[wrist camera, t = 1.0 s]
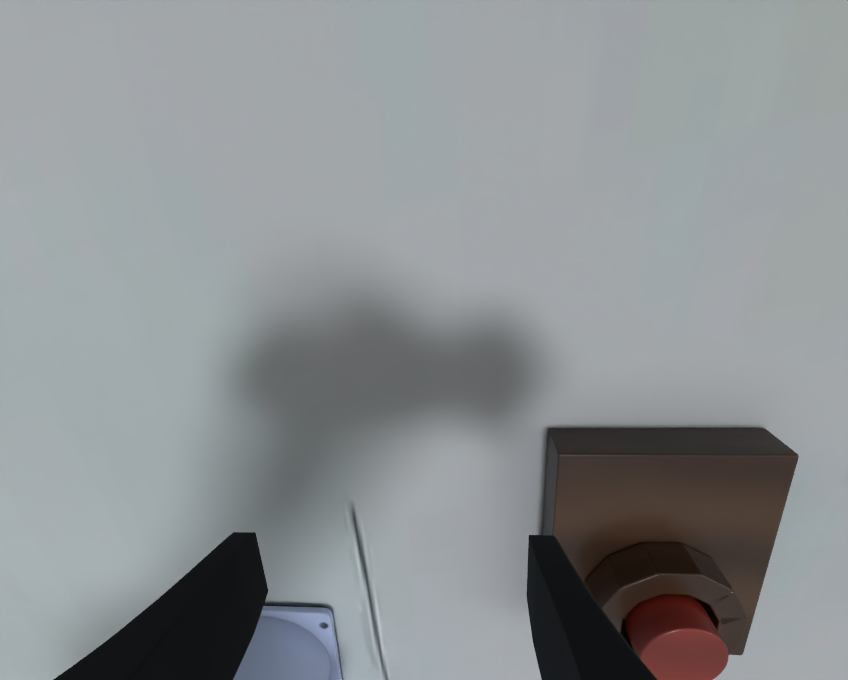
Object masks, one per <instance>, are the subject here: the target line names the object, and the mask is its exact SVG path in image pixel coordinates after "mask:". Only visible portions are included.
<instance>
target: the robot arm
mask: <svg viewBox="0 0 848 680" xmlns="http://www.w3.org/2000/svg"><path fill="white" fill-rule="evenodd" d="M267 593H268V588H267V583H266V579H265V574H264V570H263V565H262V560H261V556H260V551H259V547H258V542H257V538H256V533H239V532H233V533H232V534H231V535H230V536H229V537H228V538H226V539H225V540H224V541H223V542H222V543H221V544H220V545H218V546H217V547H216V548H215V549H214V550H213V551H212V552H211V553H210V554H208V555H207V556H206V557H205V558H204V559H203V560H202V561H201V562H200V563H198V564H197V565H196V566H195V567H194V568H193V569H192V570H191V571H190V572H188V573H187V574H186V575H185V576H184V577H183V578H182V579H180V580H179V581H178V582H177V583H176V584H175V585H174V586H173V587H171V588H170V589H169V590H168V591H167V592H166V593H165V594H163V595H162V596H161V597H160V598H159V599H158V600H156V601H155V602H154V603H153V604H152V605H150V606H149V607H148V608H147V609H145V610H144V611H143V612H142V613H141V614H139V615H138V616H137V617H136V618H135V619H133V620H132V621H131V622H130V623H128V624H127V625H126V626H125V627H124V628H122V629H121V630H120V631H119V632H118V633H116V634H115V635H114V636H112V637H111V638H110V639H109V640H107V641H106V642H105V643H103V644H102V645H101V646H99V647H98V648H97V649H95V650H94V651H93V652H91V653H90V654H89V655H87V656H86V657H84V658H83V659H82V660H80V661H79V662H78V663H76V664H75V665H73V666H72V667H71V668H69V669H68V670H67V671H65V672H64V673H62V674H61V675H59V676H58V677H57V678H55V679H54V680H342V675H341V668H340V661H339V654H338V647H337V641H336V634H335V627H334V620H333V614H332V612H331V611H330V610H329V609H327V608H318V607H286V606H264V603H265V599H266V596H267ZM527 601H528V608H529V616H530V623H531V631H532V638H533V643H534V648H535V652H536V656H537V661H538V665H539V669H540V674H541V678H542V680H658V679H657V678H656V677H655V676H654V675H653V674H652V672H651V671H650V670H649V669H648V668H647V666H646V665H645V664H644V663H643V662H642V660H641V659H640V658H639V657H638V656H637V654H636V653H635V652H634V651H633V649H632V648H631V647H630V645H629V644H628V643H627V642H626V640H625V639H624V638H623V637H622V635H621V634H620V633H619V631H618V630H617V629H616V627H615V626H614V625H613V623H612V622H611V621H610V619H609V618H608V617H607V615H606V614H605V612H604V611H603V610H602V608H601V607H600V605H599V604H598V603H597V601H596V600H595V598H594V597H593V595H592V594H591V593H590V591H589V590H588V588H587V587H586V585H585V584H584V582H583V581H582V579H581V577H580V576H579V574H578V573H577V571H576V570H575V568H574V567H573V565H572V563H571V562H570V560H569V558H568V557H567V555H566V553H565V552H564V550H563V548H562V546H561V545H560V543H559V541H558V539H557V538H556V537H555V536H554V535H529V549H528V578H527Z"/></svg>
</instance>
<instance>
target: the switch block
mask: <svg viewBox="0 0 848 680" xmlns="http://www.w3.org/2000/svg"><path fill="white" fill-rule="evenodd" d="M798 457H799V456H798V454H797V453H795V452H794V451H793V450H792V449H790V448H789V447H788V446H787V445H785V444H784V443H783V442H781V441H780V440H779V439H778V438H776V437H775V436H774V435H773V434H771V433H770V432H769V431H768V430H766V429H549V432H548V448H547V465H546V481H545V497H544V514H543V530H542V535H554V536H555V537H556V538H557V539H558V541H559V543H560V545H561V546H562V548H563V550H564V552H565V553H566V555H567V557H568V558H569V560H570V562H571V563H572V565H573V567H574V568H575V570H576V571H577V573H578V574H579V576H580V577H581V579H582V581H583V582H584V584H585V585H586V587H587V588H588V590H589V591H590V593H591V594H592V595H593V597H594V598H595V600H596V601H597V603H598V604H599V605H600V607H601V608H602V610H603V611H604V612H605V614H606V615H607V617H608V618H609V619H610V621H611V622H612V623H613V625H614V626H615V627H616V629H617V630H618V631H619V633H620V634H621V635H622V637H623V638H624V639H625V640H626V642H627V643H628V644H629V645H630V647H631V648H632V649H633V647H632V644H631V642H630V639H629V637H628V634H627V631H626V618H627V615H628V613H629V612H630V611H631V610H632V609H633V608H634V607H635V606H636V605H637V604H638V603H639V602H642V601H644V600H647V599H650V598H653V597H655V596H658V595H661V594H676V595H686V596H688V597H691V598H693V599H695V600H696V601H697V602H699V603H700V604H701V605H702V606H703V607H704V609H705V610H706V612H707V614H708V615H709V617H710V619H711V621H712V622H713V624H714V626H715V627H716V629H717V631H718V632H719V634H720V636H721V638H722V639H723V641H724V643H725V644H726V647H727V650H728V655H742V654H743V652H744V648H745V645H746V641H747V638H748V634H749V631H750V627H751V623H752V620H753V616H754V613H755V609H756V606H757V602H758V599H759V595H760V592H761V588H762V584H763V581H764V577H765V574H766V570H767V567H768V563H769V560H770V556H771V553H772V549H773V546H774V542H775V538H776V535H777V531H778V528H779V524H780V521H781V517H782V514H783V510H784V507H785V503H786V500H787V496H788V492H789V489H790V485H791V482H792V478H793V475H794V471H795V468H796V464H797V461H798ZM633 651H634V650H633Z"/></svg>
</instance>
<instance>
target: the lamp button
mask: <svg viewBox="0 0 848 680" xmlns="http://www.w3.org/2000/svg"><path fill="white" fill-rule="evenodd" d="M626 631H627V634H628V637H629V639H630V642H631V644H632V647H633V650H634V652H635V653H636V654H637V656H638V657H639V658H640V659H641V660H642V662H643V663H644V664H645V665H646V666H647V668H648V669H649V670H650V671H651V672H652V674H653V675H654V676H655V677H656V678H657V679H658V680H713V679H714V678H716V677H717V676H718V675H719V674H720V673H721V672H722V671H723V670H724V668H725V667H726V665H727V662H728V650H727V647H726V644H725V643H724V641H723V639H722V638H721V636H720V634H719V632H718V631H717V629H716V627H715V626H714V624H713V622H712V621H711V619H710V617H709V615H708V614H707V612H706V610H705V609H704V607H703V606H702V605H701V604H700V603H699V602H697V601H696V600H695V599H693V598H691V597H688V596H686V595H676V594H661V595H658V596H655V597H653V598H650V599H647V600H644V601H642V602H639V603H638V604H637V605H636V606H635V607H634V608H633V609H632V610H631V611H630V612H629V613H628V615H627V618H626Z"/></svg>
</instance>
